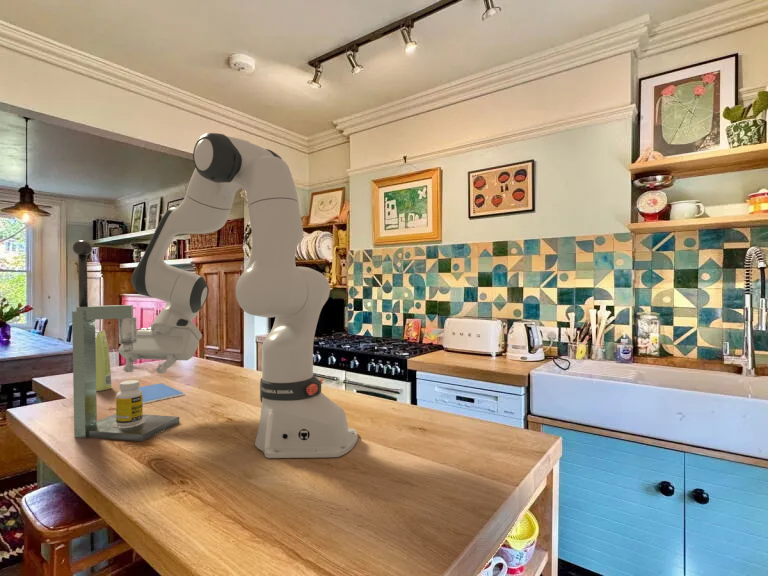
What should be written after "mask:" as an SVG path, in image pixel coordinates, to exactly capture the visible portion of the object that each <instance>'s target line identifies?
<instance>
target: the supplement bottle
mask: <svg viewBox="0 0 768 576" xmlns="http://www.w3.org/2000/svg"><path fill="white" fill-rule="evenodd" d="M138 387H140V380H136V379H134V380H125V381H122V382H120V383H119V391H118V392H117V393H116V395H115V401H116V402H115V406H116V407H115V414H116V423H117V425H120V426H126V425H133V424H136V423H139V422H141V421H142V418H143V413H144V411H143V410H144V409H143V408H144V407H143V406H144V404H143V394H142V391H141V390H140V389H138Z"/></svg>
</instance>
